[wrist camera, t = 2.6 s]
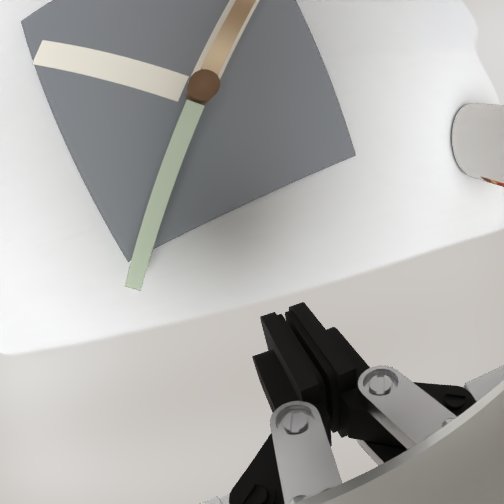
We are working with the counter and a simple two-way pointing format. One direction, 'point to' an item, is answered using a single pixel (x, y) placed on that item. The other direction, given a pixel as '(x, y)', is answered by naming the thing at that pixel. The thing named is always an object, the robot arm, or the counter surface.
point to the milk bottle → (480, 141)
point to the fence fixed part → (217, 55)
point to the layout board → (173, 100)
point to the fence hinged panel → (162, 192)
